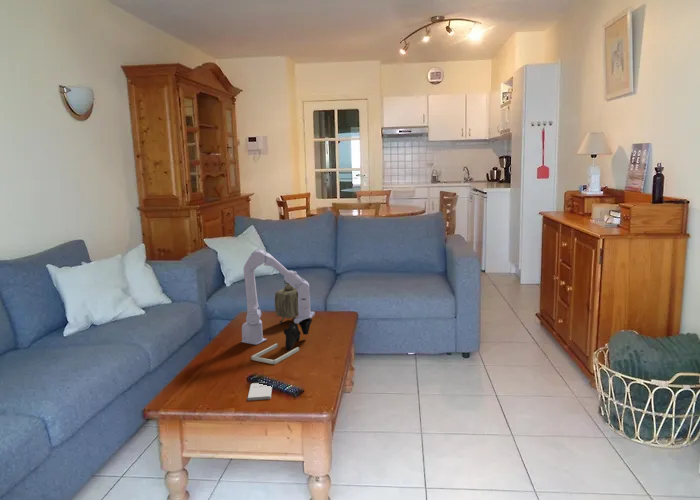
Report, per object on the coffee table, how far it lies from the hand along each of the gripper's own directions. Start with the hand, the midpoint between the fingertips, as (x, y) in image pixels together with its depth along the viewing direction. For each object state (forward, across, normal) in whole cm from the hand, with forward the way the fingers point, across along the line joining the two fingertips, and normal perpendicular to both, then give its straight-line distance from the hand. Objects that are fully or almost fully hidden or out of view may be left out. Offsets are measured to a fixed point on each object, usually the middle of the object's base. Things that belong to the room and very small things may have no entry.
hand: (305, 334), depth 248 cm
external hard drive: (+3, -56, -18) cm, 59 cm away
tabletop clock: (+3, +19, +22) cm, 29 cm away
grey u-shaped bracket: (+2, -23, 0) cm, 23 cm away
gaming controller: (+3, -10, 0) cm, 10 cm away
